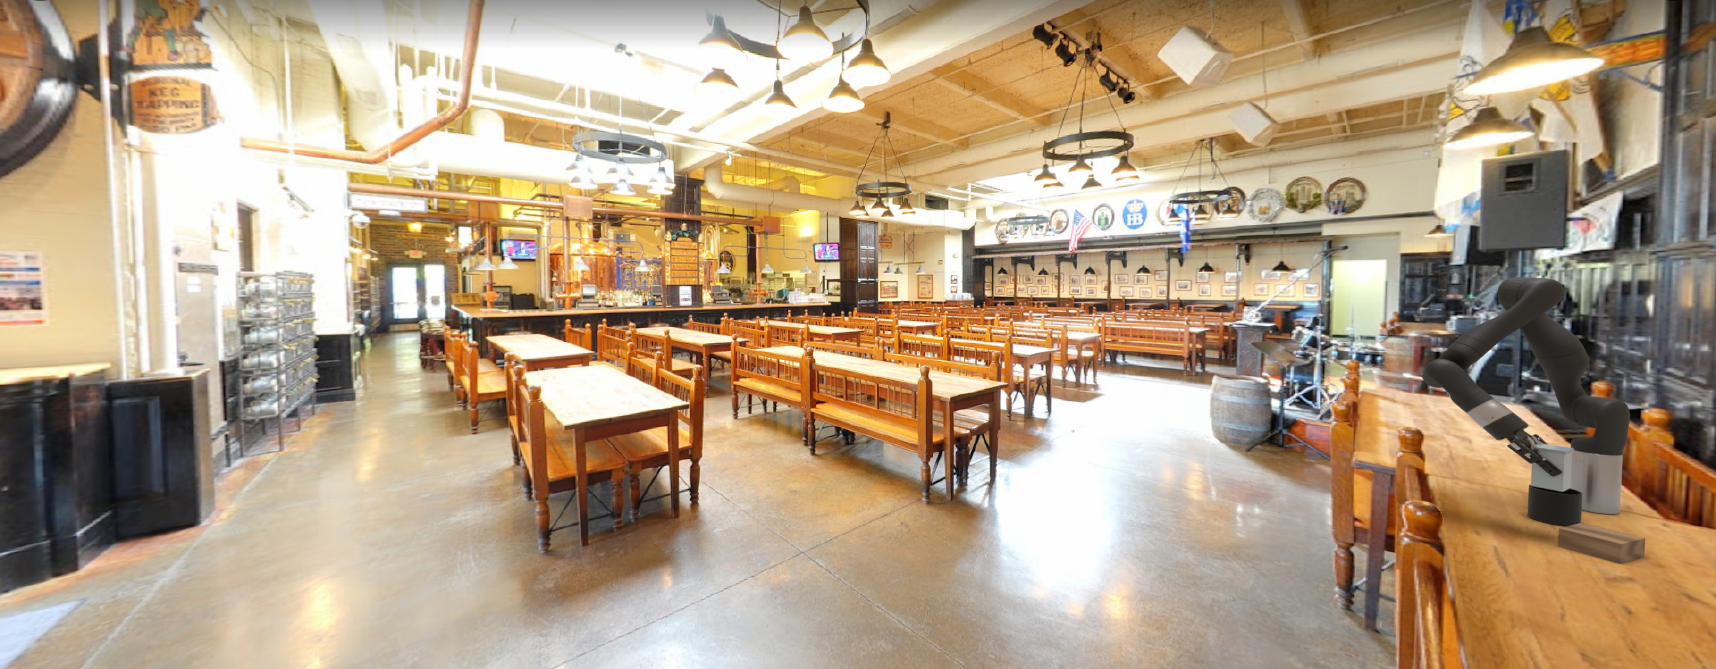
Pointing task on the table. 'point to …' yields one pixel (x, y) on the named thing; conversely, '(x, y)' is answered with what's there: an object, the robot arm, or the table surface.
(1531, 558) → the table surface
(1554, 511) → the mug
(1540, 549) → the table surface
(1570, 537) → the walnut block
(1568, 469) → the grey lidded pillar
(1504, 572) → the table surface
